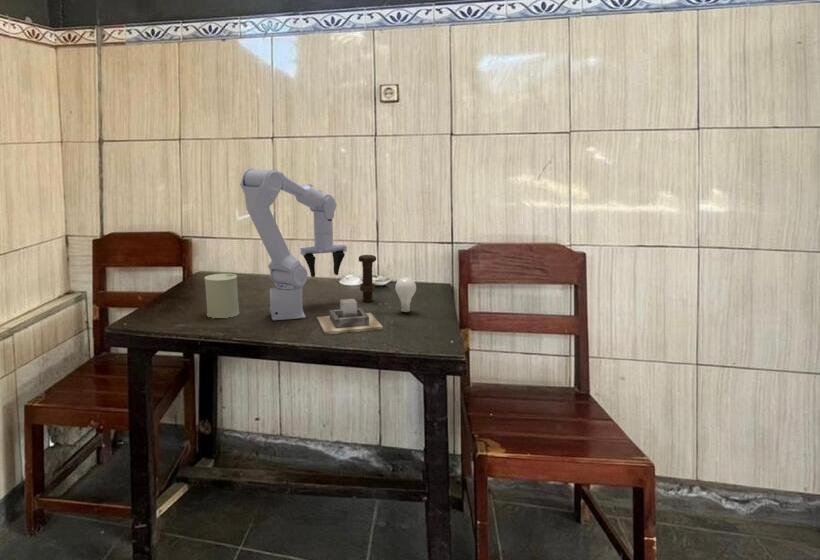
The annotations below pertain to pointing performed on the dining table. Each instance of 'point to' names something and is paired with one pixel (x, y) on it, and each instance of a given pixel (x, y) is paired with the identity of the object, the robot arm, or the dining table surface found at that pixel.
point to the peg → (348, 308)
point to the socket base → (348, 322)
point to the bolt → (367, 276)
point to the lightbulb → (405, 292)
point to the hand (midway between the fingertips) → (324, 275)
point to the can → (221, 295)
